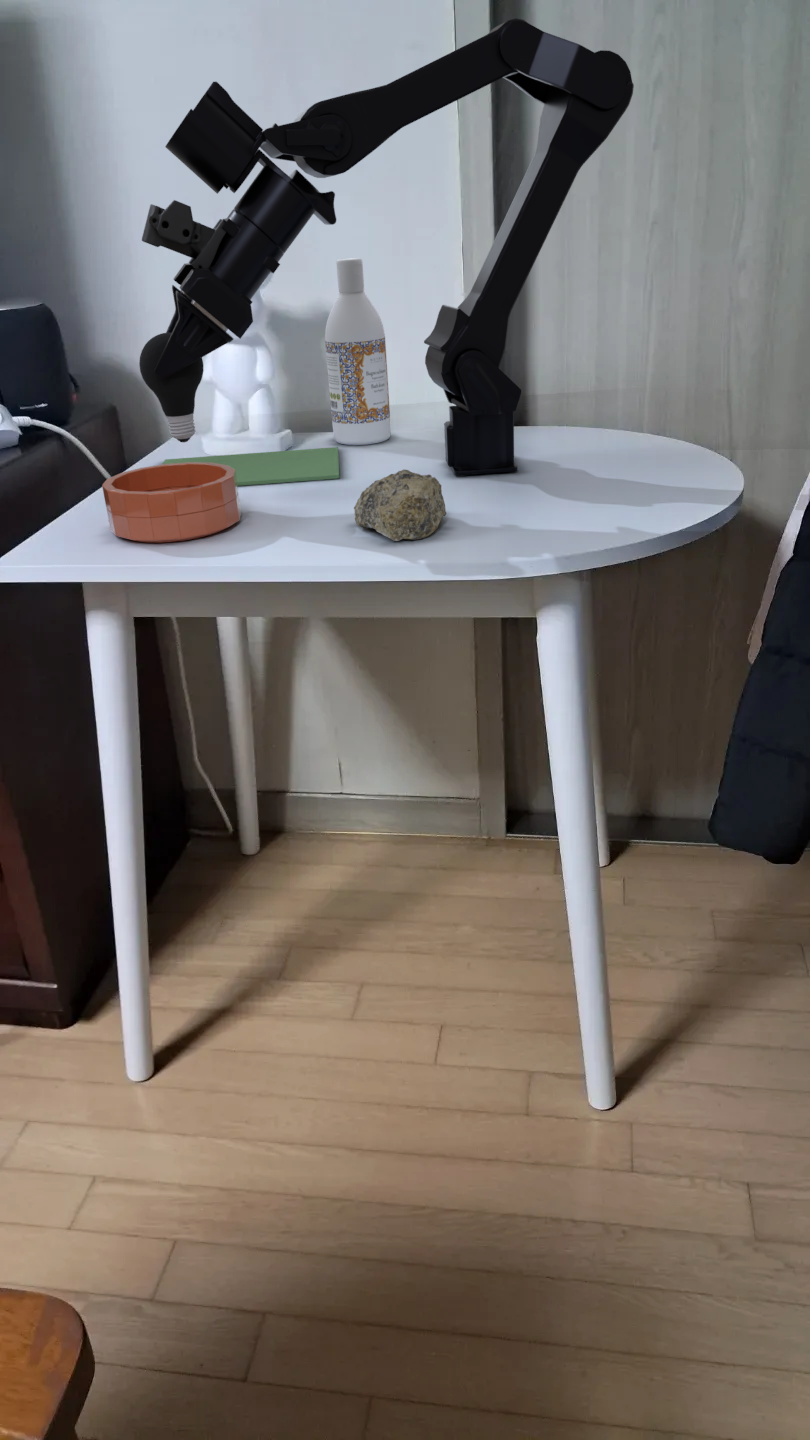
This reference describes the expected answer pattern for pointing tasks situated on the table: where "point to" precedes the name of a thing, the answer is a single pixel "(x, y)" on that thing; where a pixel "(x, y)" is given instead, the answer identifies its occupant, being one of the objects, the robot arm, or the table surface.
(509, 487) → the table surface
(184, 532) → the pot
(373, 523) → the rock
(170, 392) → the light bulb
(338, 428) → the bath foam
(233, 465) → the mat
